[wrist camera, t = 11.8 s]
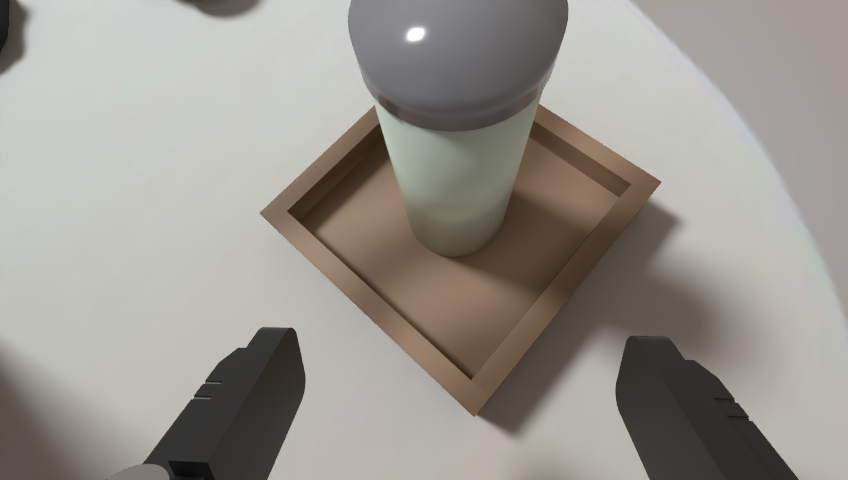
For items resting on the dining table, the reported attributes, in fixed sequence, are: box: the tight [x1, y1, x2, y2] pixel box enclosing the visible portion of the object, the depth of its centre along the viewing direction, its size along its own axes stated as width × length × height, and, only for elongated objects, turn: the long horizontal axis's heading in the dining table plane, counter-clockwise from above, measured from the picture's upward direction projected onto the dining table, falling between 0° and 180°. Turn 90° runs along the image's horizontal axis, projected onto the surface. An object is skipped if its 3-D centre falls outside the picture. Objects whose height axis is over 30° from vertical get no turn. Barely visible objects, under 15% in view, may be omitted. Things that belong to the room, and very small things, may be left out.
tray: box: [260, 104, 661, 417], centre depth 21 cm, size 14×14×2 cm
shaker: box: [348, 0, 568, 257], centre depth 15 cm, size 5×5×12 cm
